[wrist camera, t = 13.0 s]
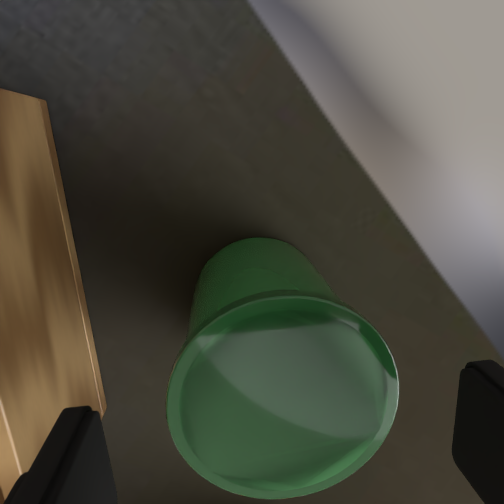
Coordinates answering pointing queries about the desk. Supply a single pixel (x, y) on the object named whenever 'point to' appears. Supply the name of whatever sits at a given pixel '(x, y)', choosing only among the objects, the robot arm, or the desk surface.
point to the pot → (277, 377)
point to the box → (37, 293)
